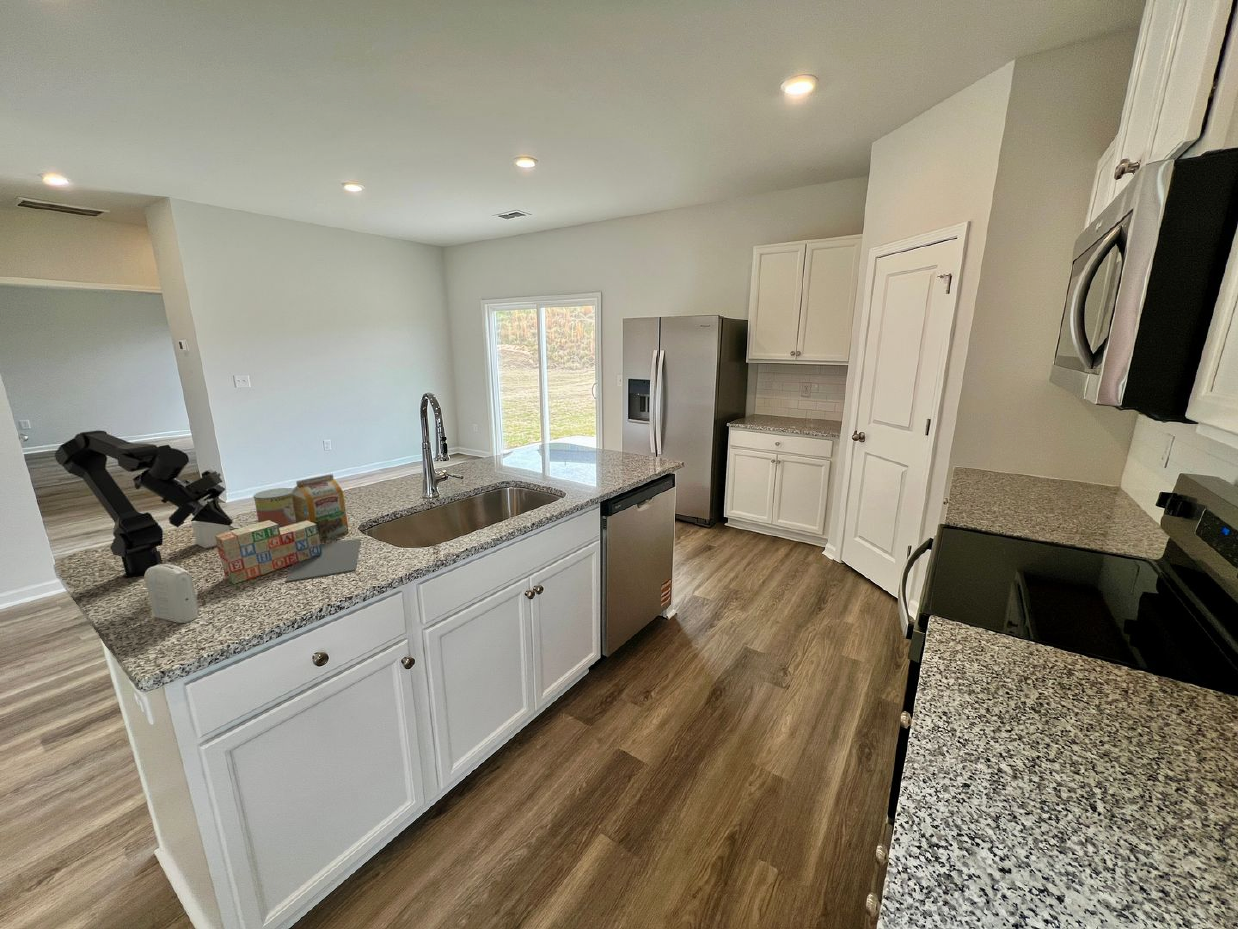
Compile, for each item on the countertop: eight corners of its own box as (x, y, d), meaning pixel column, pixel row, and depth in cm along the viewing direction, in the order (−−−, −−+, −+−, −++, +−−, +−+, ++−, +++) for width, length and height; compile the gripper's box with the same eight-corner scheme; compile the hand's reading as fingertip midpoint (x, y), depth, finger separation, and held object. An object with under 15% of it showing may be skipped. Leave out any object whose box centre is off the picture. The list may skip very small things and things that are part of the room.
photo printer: (204, 615, 110) (192, 564, 107) (182, 625, 106) (169, 573, 103) (172, 608, 113) (160, 558, 110) (150, 618, 109) (137, 566, 106)
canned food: (285, 533, 159) (279, 497, 156) (251, 533, 159) (244, 498, 156) (307, 521, 169) (302, 487, 167) (275, 521, 170) (269, 488, 167)
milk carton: (333, 526, 164) (324, 471, 160) (348, 533, 158) (340, 476, 154) (298, 536, 156) (288, 478, 152) (313, 543, 150) (304, 483, 146)
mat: (285, 582, 125) (285, 581, 125) (300, 548, 146) (300, 547, 146) (356, 570, 132) (355, 569, 132) (360, 539, 153) (360, 538, 153)
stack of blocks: (313, 549, 144) (305, 510, 141) (323, 554, 141) (315, 514, 137) (224, 578, 128) (213, 534, 125) (232, 584, 124) (221, 539, 121)
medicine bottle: (233, 541, 153) (225, 504, 150) (205, 548, 147) (196, 510, 144) (223, 536, 156) (216, 500, 153) (195, 543, 150) (187, 506, 148)
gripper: (174, 472, 114) (239, 511, 120) (209, 455, 131) (264, 491, 137) (139, 507, 113) (207, 546, 120) (179, 486, 131) (236, 521, 137)
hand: (231, 523), depth 128 cm, fingers closed
